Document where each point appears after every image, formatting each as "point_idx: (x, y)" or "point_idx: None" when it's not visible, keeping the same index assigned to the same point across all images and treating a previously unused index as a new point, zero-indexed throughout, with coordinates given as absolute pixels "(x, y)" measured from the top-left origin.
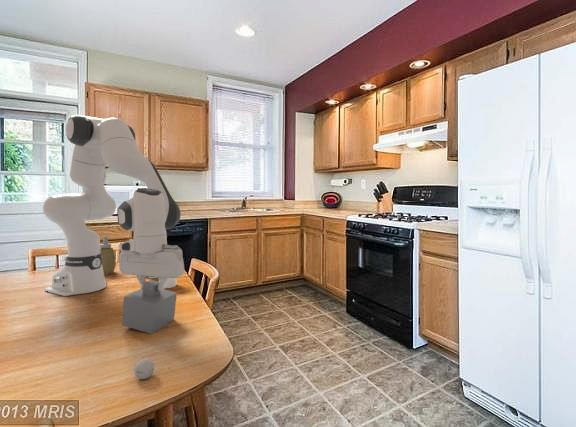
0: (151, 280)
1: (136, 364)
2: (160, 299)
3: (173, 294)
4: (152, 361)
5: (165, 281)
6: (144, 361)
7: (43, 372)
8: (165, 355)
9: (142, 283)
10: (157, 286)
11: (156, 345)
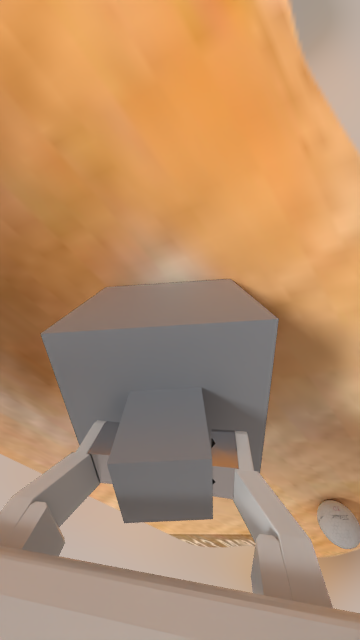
0: (115, 469)
1: (330, 540)
2: (251, 434)
3: (274, 352)
4: (354, 527)
5: (281, 507)
6: (351, 548)
7: None
8: (330, 451)
9: (93, 487)
10: (226, 492)
11: (281, 422)
